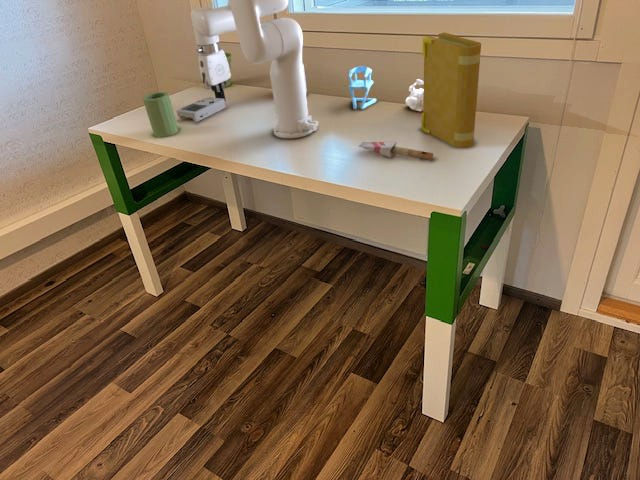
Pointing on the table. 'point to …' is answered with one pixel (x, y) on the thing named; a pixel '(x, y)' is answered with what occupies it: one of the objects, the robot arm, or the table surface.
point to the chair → (361, 86)
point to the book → (450, 88)
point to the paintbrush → (394, 150)
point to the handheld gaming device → (201, 108)
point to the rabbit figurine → (416, 96)
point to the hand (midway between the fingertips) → (221, 101)
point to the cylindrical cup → (160, 114)
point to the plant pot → (228, 56)
